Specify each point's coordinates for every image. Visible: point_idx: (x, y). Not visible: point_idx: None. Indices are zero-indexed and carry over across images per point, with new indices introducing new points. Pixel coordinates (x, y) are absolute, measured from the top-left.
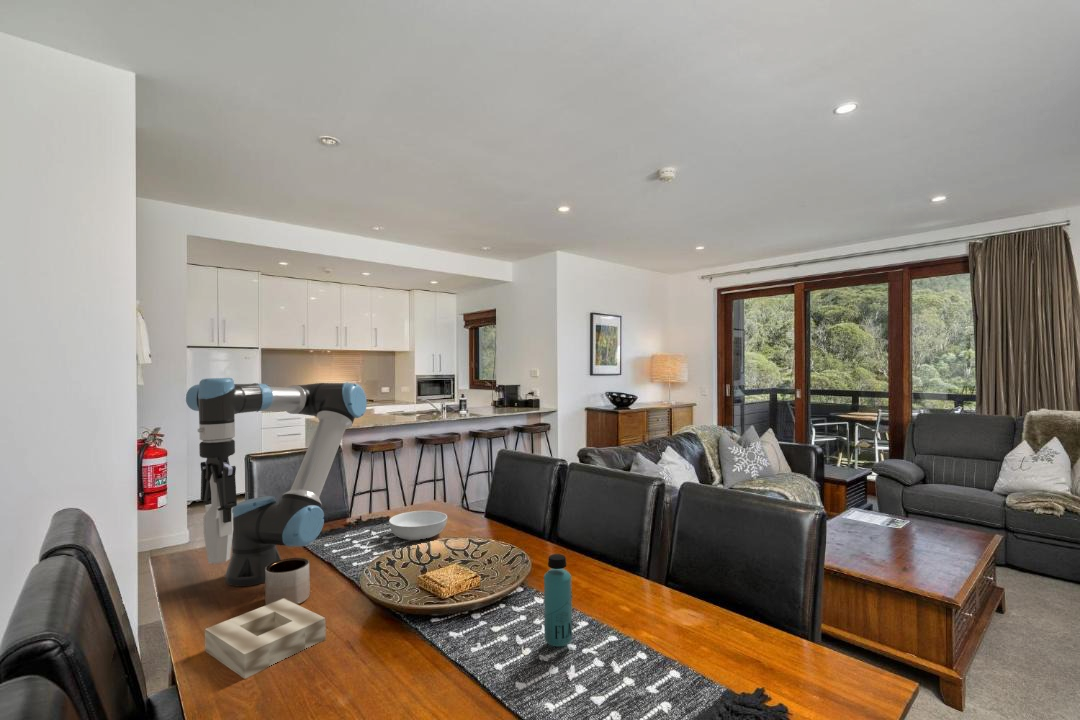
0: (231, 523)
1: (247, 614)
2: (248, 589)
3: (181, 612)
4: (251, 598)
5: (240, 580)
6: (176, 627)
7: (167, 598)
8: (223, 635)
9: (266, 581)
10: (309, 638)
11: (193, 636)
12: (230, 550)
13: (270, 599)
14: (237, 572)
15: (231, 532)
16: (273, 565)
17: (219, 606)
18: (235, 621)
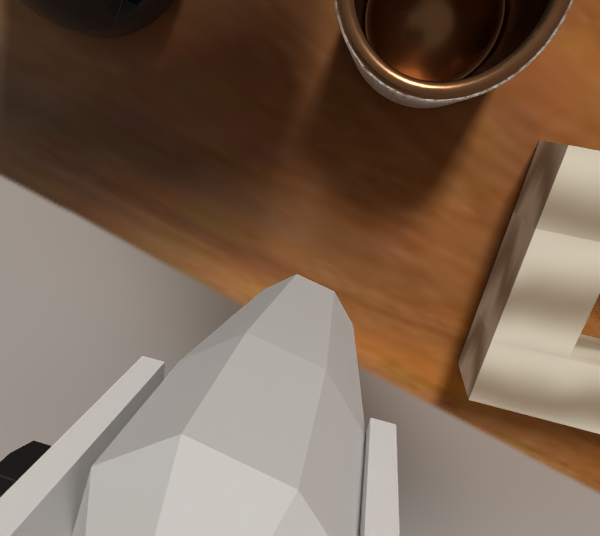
0: (396, 501)
1: (526, 295)
2: (196, 25)
3: (175, 240)
4: (279, 76)
5: (136, 19)
6: None
7: (44, 196)
8: (567, 412)
9: (400, 98)
10: None
11: None
12: (334, 312)
13: (429, 107)
14: (98, 12)
15: (393, 436)
16: (355, 6)
17: (237, 169)
18: (527, 342)
